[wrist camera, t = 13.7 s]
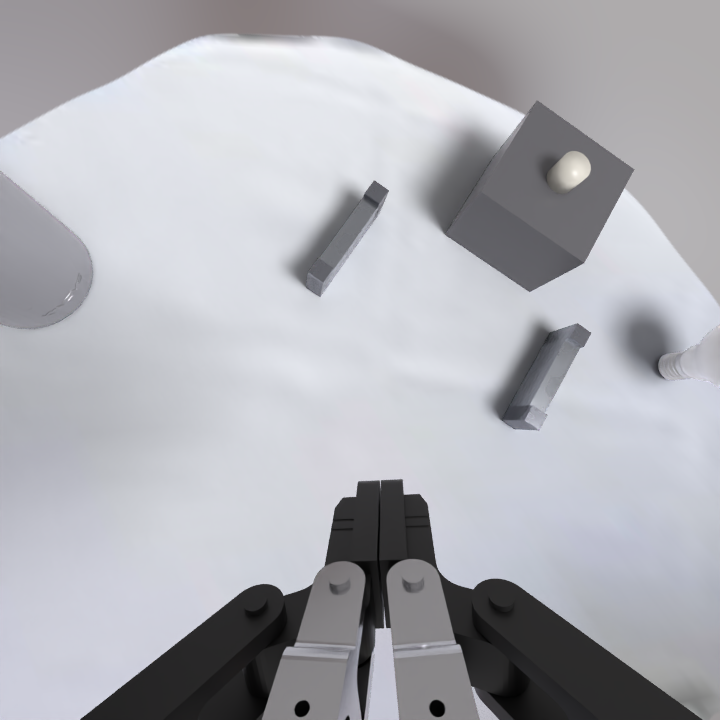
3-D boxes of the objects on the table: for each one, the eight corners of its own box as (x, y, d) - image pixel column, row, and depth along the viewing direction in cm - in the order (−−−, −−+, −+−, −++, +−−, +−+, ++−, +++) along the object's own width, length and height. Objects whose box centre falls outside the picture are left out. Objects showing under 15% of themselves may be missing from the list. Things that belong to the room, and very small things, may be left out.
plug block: (444, 235, 41) (492, 177, 31) (492, 158, 43) (551, 81, 33) (528, 292, 41) (602, 253, 32) (572, 214, 43) (654, 154, 33)
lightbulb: (675, 412, 42) (808, 409, 31) (625, 374, 42) (742, 358, 31) (701, 361, 43) (838, 342, 32) (653, 324, 43) (774, 292, 32)
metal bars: (306, 287, 38) (307, 272, 34) (366, 203, 40) (374, 180, 36) (514, 429, 39) (539, 430, 35) (562, 341, 41) (591, 333, 37)
